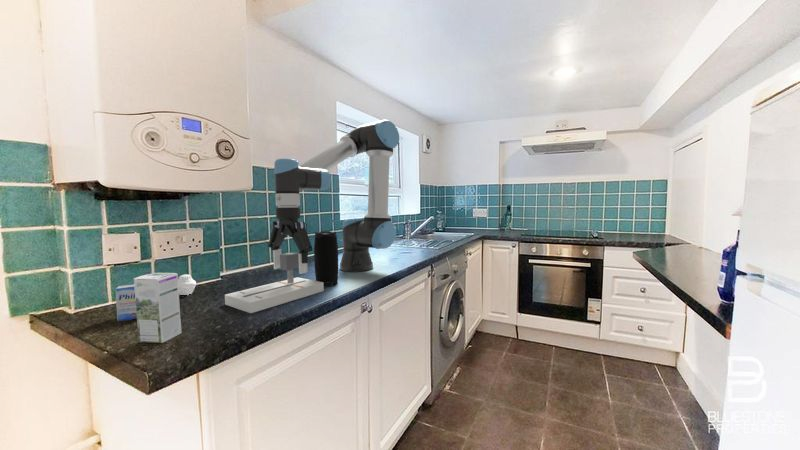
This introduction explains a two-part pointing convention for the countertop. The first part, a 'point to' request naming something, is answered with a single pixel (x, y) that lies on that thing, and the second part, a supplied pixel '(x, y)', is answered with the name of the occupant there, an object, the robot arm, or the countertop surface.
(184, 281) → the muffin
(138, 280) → the syrup box
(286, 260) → the fader tab
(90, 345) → the countertop surface
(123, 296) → the medicine box
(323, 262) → the portable speaker
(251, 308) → the fader console
